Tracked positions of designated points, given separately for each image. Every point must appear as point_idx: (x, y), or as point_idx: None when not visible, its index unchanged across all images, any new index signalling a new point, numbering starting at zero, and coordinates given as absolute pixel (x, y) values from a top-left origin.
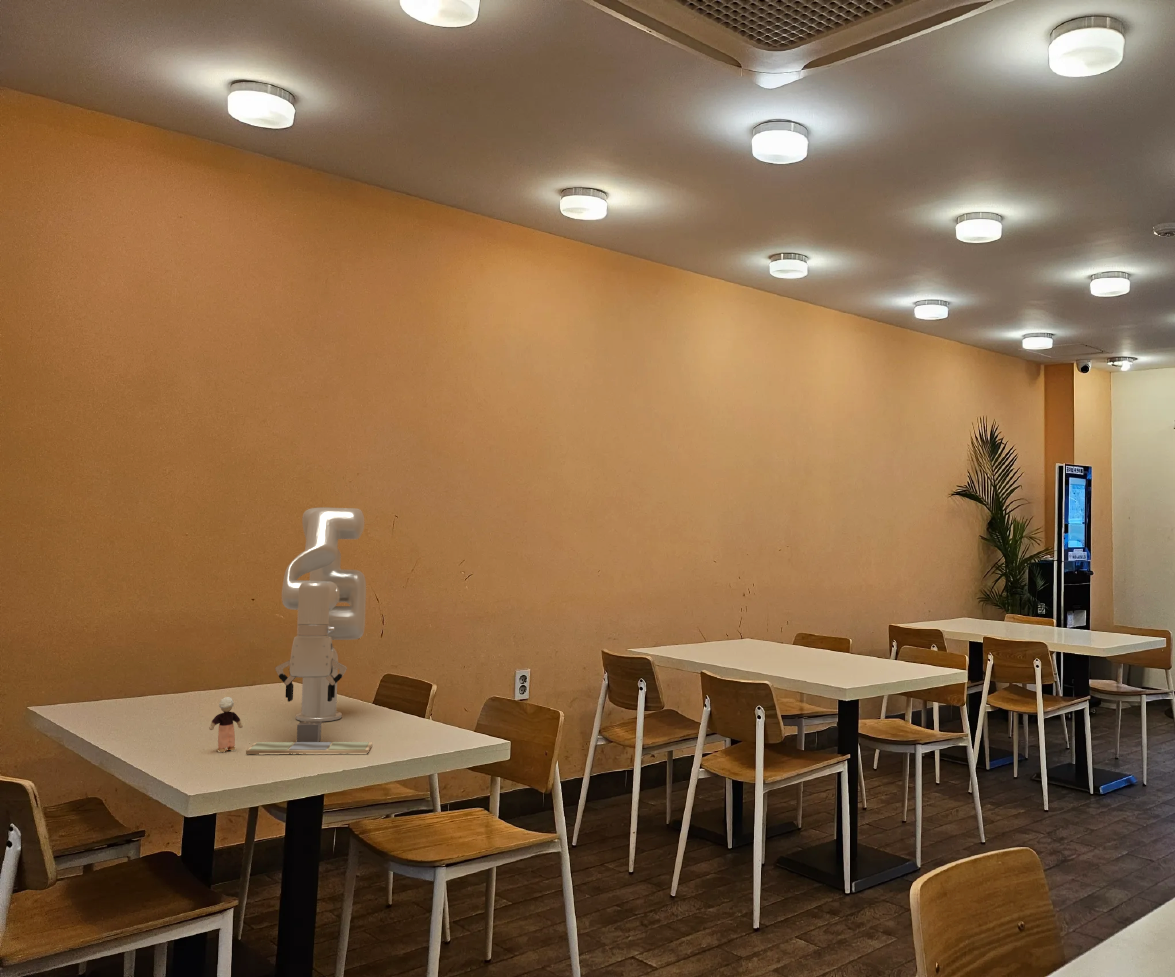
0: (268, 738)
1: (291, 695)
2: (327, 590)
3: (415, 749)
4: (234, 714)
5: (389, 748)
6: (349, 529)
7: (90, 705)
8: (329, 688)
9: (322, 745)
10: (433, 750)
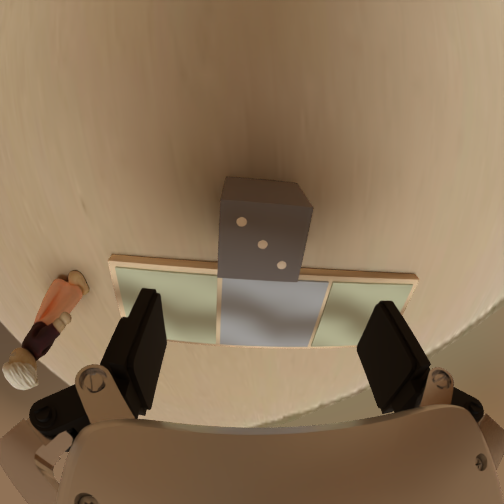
0: (113, 133)
1: (159, 349)
2: None
3: (463, 298)
4: (44, 348)
5: (435, 291)
6: None
7: None
8: (381, 398)
9: (301, 316)
10: (477, 304)
